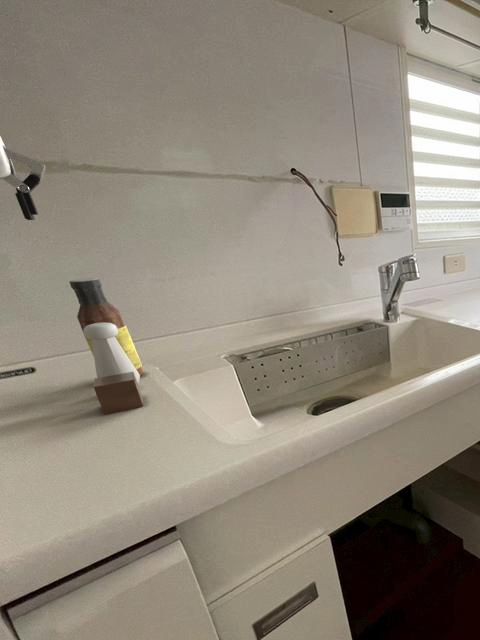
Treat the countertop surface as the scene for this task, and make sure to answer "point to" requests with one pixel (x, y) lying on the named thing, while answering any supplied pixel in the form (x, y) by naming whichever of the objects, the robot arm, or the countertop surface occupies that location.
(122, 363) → the salt shaker
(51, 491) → the countertop surface
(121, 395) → the walnut block
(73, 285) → the sauce bottle
